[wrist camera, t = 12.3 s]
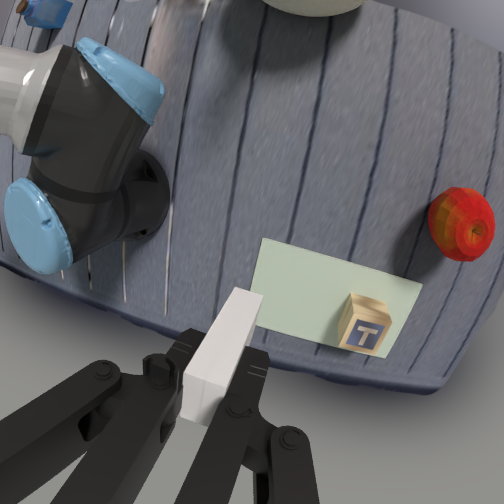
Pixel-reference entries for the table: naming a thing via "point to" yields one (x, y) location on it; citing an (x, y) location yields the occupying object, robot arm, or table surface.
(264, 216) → the table surface
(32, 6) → the blue corked bottle
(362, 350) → the wooden block
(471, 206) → the apple
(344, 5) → the kettle
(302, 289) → the felt mat
